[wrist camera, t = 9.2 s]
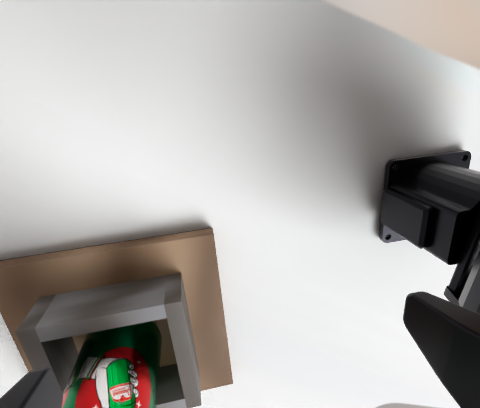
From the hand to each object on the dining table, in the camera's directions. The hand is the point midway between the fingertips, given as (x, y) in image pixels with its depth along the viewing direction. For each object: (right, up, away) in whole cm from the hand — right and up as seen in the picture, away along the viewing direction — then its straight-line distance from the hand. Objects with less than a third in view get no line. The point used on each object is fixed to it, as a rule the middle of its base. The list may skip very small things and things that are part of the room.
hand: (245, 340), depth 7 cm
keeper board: (-8, -6, +15) cm, 18 cm away
